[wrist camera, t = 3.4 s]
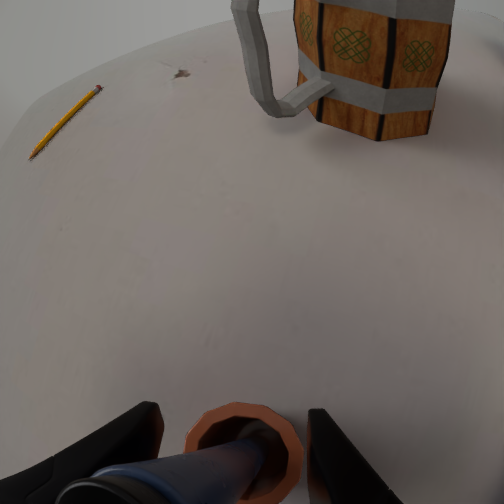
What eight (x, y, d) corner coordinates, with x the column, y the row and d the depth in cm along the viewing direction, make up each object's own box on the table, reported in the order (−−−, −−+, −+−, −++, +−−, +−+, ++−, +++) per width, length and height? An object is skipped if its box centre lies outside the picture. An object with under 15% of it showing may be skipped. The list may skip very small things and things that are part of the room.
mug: (358, 56, 30) (361, -60, 18) (458, 112, 24) (491, -22, 11) (210, 116, 26) (171, -46, 13) (320, 207, 20) (328, -49, 7)
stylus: (275, 456, 12) (207, 592, 1) (246, 467, 12) (78, 591, 1) (263, 431, 13) (140, 456, 2) (235, 441, 13) (26, 474, 2)
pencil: (102, 88, 33) (100, 84, 33) (30, 163, 28) (27, 159, 27) (98, 89, 34) (96, 84, 33) (27, 162, 28) (24, 158, 27)
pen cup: (311, 467, 12) (322, 486, 8) (233, 496, 12) (208, 524, 8) (278, 397, 14) (274, 385, 10) (202, 426, 14) (166, 424, 10)
